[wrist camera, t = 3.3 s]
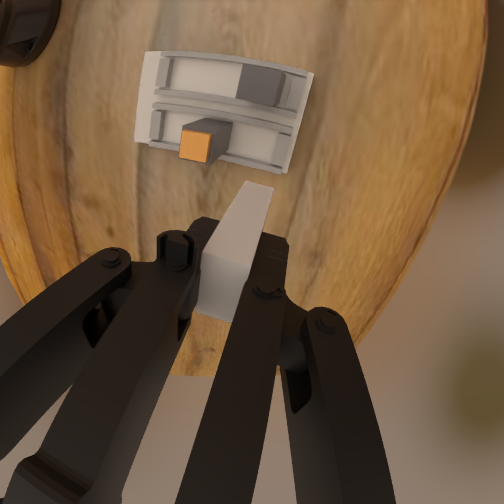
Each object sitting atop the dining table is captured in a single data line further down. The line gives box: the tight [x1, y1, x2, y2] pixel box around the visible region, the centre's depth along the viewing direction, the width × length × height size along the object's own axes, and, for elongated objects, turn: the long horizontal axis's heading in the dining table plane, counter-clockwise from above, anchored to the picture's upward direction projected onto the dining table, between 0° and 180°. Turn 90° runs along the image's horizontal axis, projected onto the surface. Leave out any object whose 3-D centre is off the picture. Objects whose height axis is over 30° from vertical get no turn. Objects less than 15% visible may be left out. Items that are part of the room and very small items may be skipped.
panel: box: [134, 51, 314, 175], centre depth 23 cm, size 18×11×8 cm, turn 78°
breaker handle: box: [178, 118, 233, 165], centre depth 23 cm, size 3×3×6 cm
